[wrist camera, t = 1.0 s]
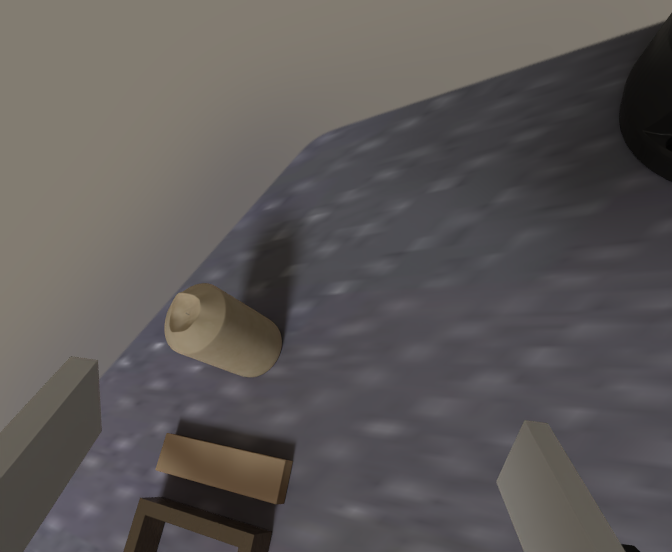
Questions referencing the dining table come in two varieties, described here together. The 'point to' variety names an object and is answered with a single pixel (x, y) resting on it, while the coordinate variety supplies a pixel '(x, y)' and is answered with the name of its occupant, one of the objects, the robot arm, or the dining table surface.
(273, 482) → the strip
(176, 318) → the candle
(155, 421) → the dining table surface
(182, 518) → the wooden tray
